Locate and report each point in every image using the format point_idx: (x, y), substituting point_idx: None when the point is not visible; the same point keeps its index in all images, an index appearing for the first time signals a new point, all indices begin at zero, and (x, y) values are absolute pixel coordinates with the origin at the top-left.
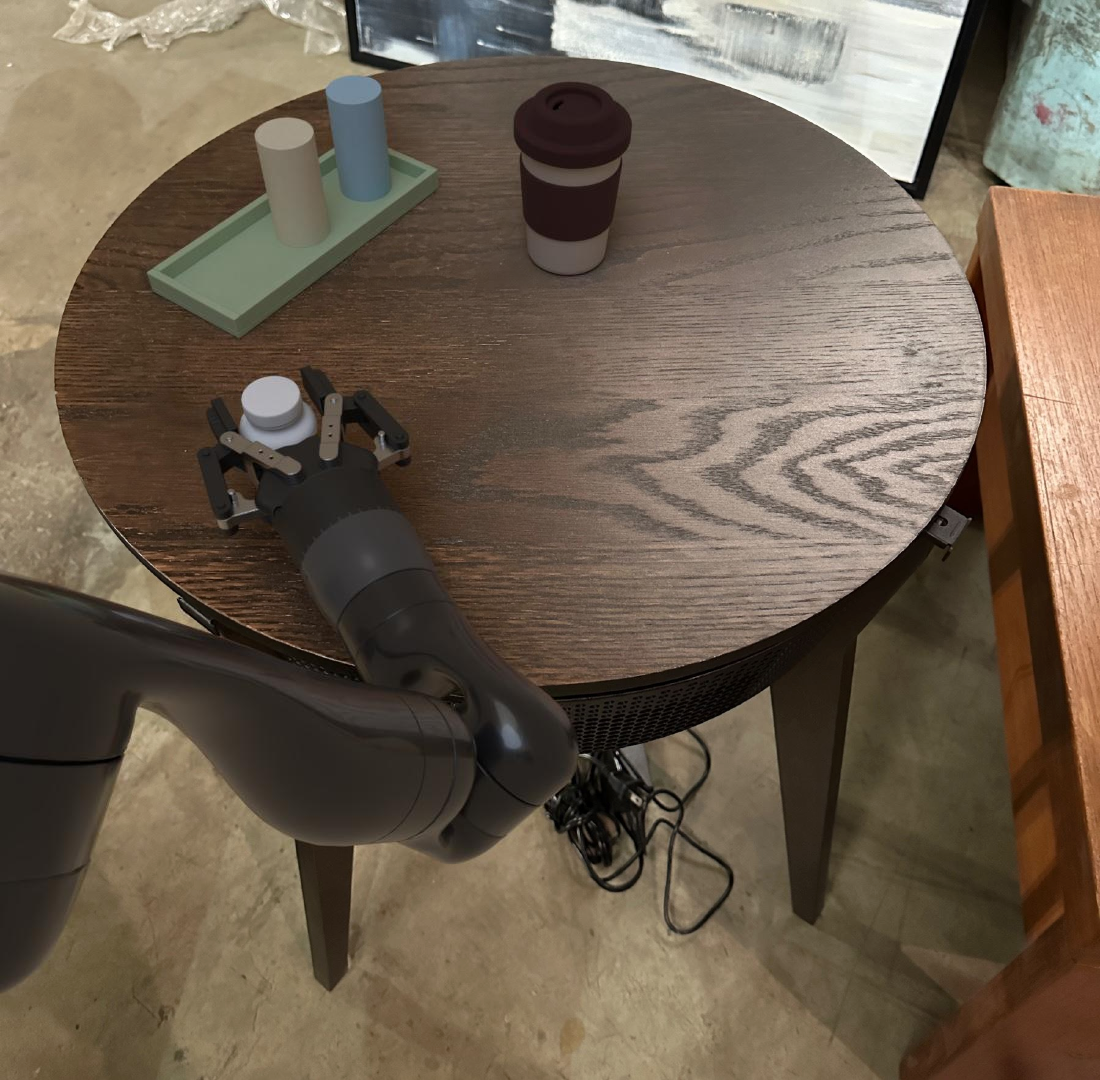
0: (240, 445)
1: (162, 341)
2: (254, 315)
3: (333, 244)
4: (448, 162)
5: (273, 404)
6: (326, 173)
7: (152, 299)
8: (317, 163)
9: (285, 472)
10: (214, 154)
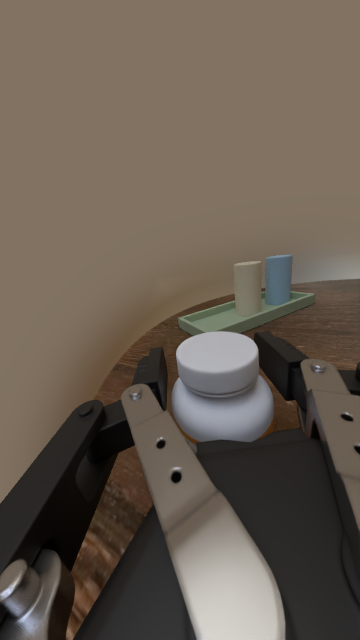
0: (141, 411)
1: (173, 343)
2: None
3: (264, 312)
4: (315, 297)
5: (216, 357)
6: None
7: (177, 329)
8: (260, 276)
9: (198, 629)
10: (217, 298)
